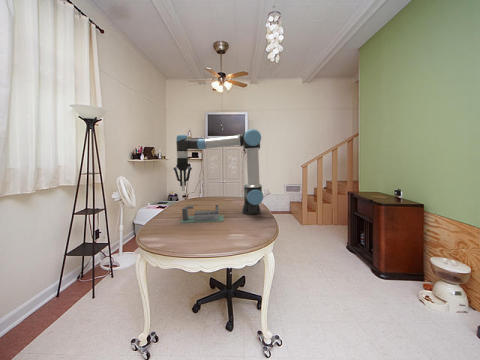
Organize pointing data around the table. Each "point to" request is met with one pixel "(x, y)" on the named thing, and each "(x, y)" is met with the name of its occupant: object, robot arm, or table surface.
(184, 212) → the clip
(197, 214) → the heatsink
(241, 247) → the table surface
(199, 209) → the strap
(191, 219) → the board
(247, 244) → the table surface
